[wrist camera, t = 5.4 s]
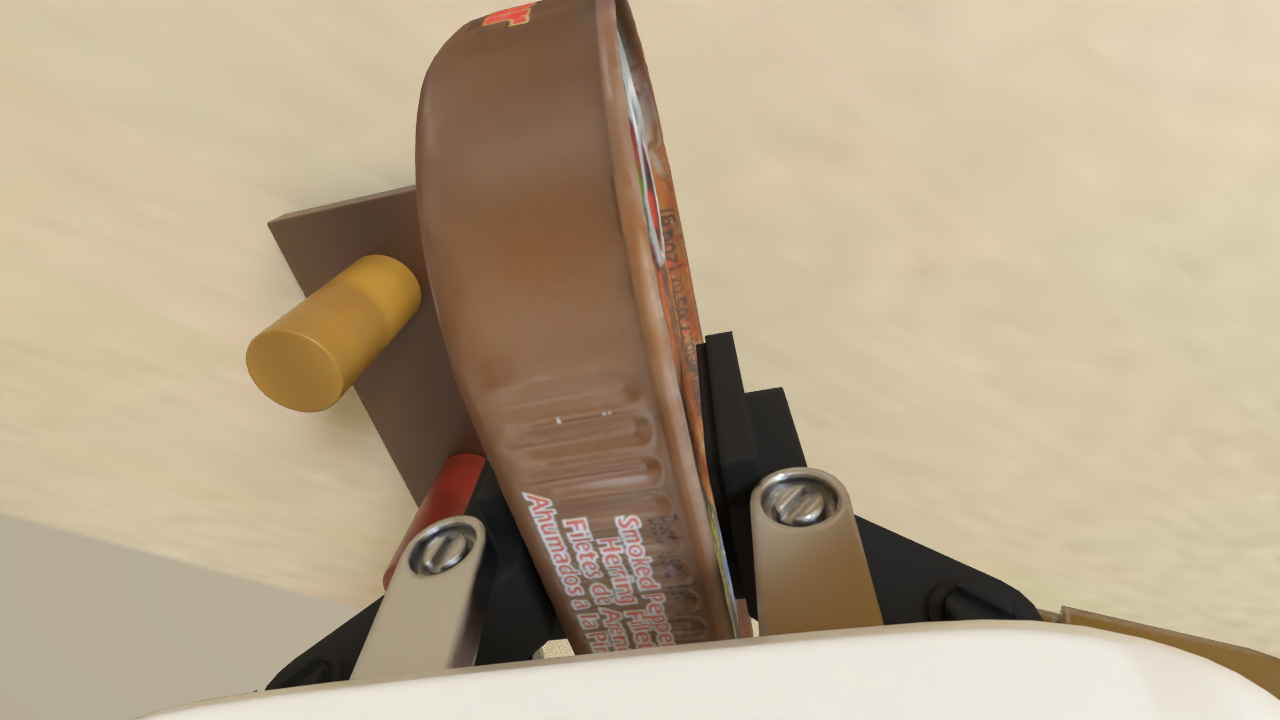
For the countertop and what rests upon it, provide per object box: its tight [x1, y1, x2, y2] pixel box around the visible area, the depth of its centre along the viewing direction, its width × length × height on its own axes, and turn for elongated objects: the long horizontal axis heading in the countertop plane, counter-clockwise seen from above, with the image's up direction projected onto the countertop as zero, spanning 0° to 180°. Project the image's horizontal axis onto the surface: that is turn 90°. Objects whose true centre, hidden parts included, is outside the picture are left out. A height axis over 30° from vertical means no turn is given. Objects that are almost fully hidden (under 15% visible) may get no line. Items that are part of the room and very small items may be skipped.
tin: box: [415, 0, 753, 655], centre depth 12 cm, size 15×3×8 cm, turn 12°
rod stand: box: [246, 185, 487, 591], centre depth 24 cm, size 7×17×8 cm, turn 12°
